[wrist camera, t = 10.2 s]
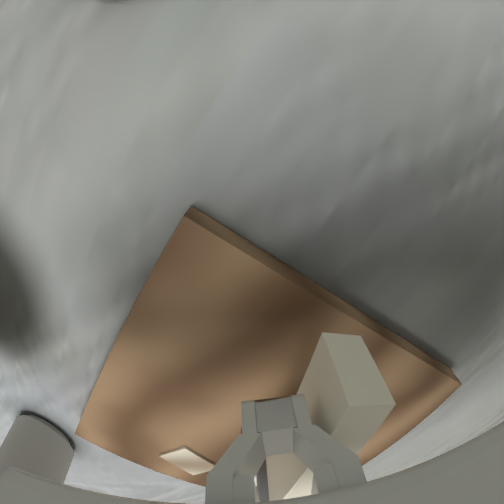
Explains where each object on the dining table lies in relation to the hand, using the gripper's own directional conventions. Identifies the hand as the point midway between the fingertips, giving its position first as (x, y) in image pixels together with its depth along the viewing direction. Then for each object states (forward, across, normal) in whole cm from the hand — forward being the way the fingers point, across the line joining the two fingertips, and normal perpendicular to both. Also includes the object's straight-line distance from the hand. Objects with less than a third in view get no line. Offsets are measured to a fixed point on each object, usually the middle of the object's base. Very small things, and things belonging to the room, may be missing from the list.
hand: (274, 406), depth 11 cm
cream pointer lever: (+5, 0, +8) cm, 9 cm away
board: (+7, 0, +9) cm, 11 cm away
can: (+8, +24, +14) cm, 29 cm away
